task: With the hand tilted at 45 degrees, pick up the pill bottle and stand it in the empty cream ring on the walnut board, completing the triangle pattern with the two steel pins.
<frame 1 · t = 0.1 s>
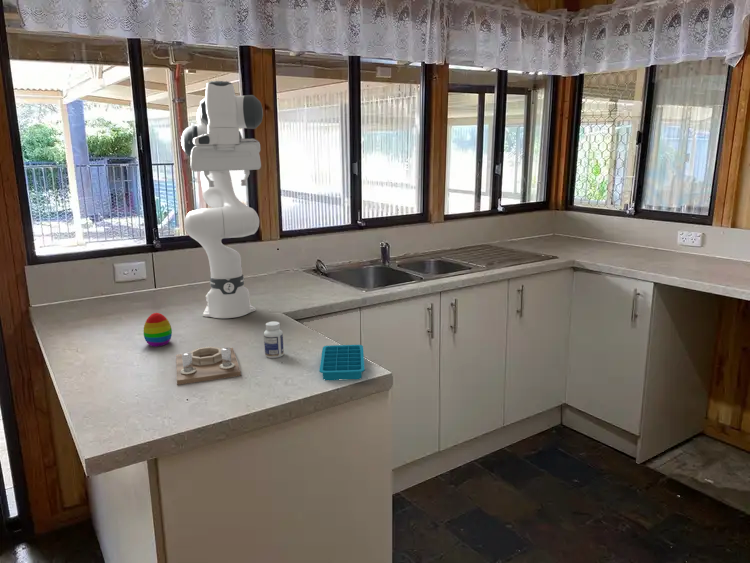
hand: (227, 186, 167), 48 cm above the worktop, tool pointing down, fingers open, 8 cm apart
pill bottle: (274, 355, 163), on the worktop
layout board: (207, 366, 155), on the worktop
decorative egg: (159, 344, 174), on the worktop
ice cube tray: (342, 368, 153), on the worktop
steel pins: (207, 360, 149), point 4 cm above the worktop
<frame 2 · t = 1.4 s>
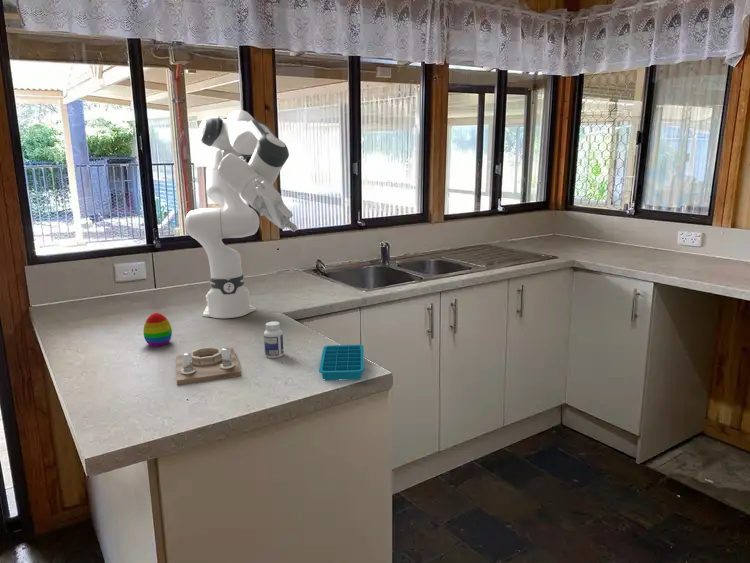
hand: (293, 223, 162), 37 cm above the worktop, tool tilted 55°, fingers open, 8 cm apart
nothing on the worktop moved.
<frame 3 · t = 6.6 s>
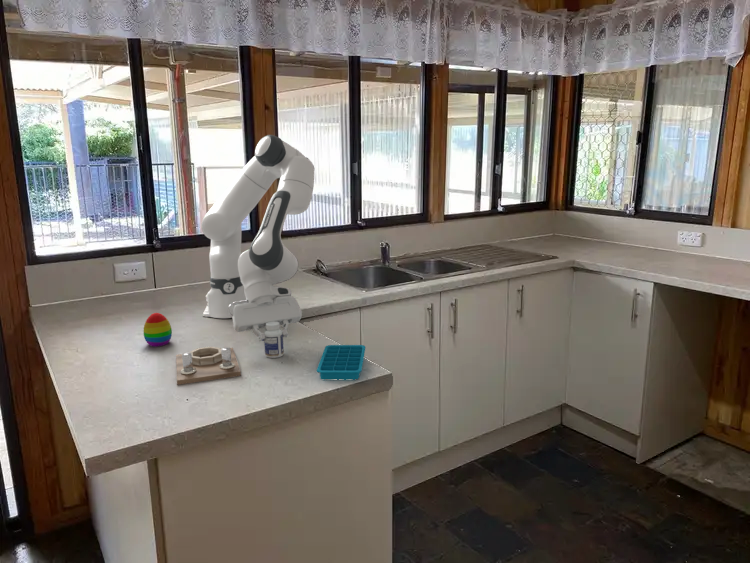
hand: (274, 338, 161), 5 cm above the worktop, tool tilted 45°, fingers closed on pill bottle, 5 cm apart
pill bottle: (274, 355, 163), on the worktop, touching gripper
everything else where it was.
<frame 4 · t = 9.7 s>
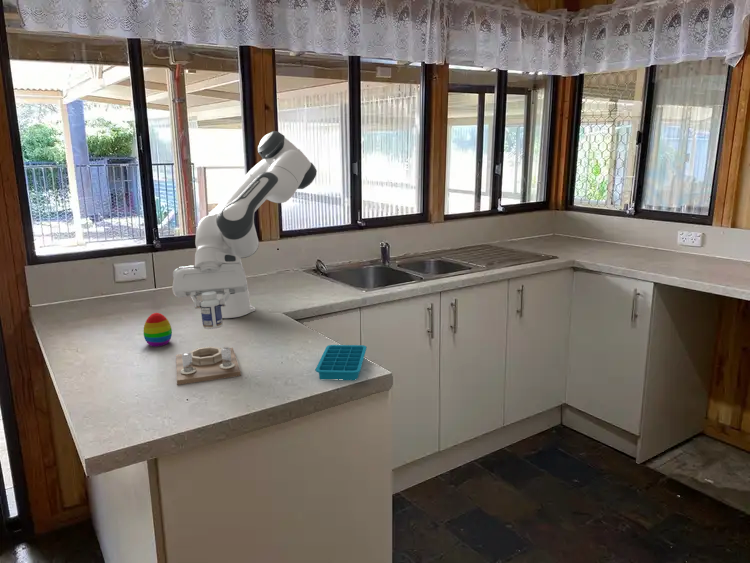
hand: (210, 306, 153), 17 cm above the worktop, tool tilted 45°, fingers closed on pill bottle, 5 cm apart
pill bottle: (213, 327, 155), point 10 cm above the worktop, touching gripper
everything else where it was.
when the fingers open (8 cm above the worktop, at t = 12.7 s): pill bottle stays where it is, resting on layout board.
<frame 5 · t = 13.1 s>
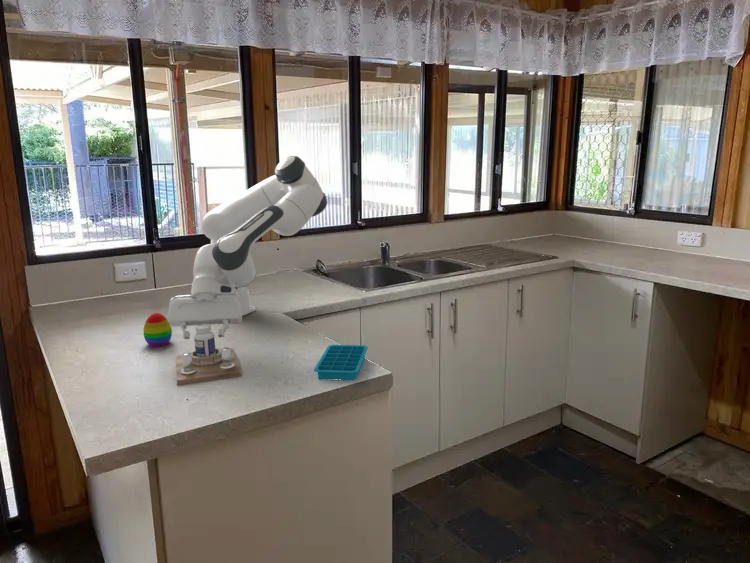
hand: (203, 337, 155), 8 cm above the worktop, tool tilted 45°, fingers open, 8 cm apart
pill bottle: (206, 359, 157), point 1 cm above the worktop, touching layout board
everything else where it was.
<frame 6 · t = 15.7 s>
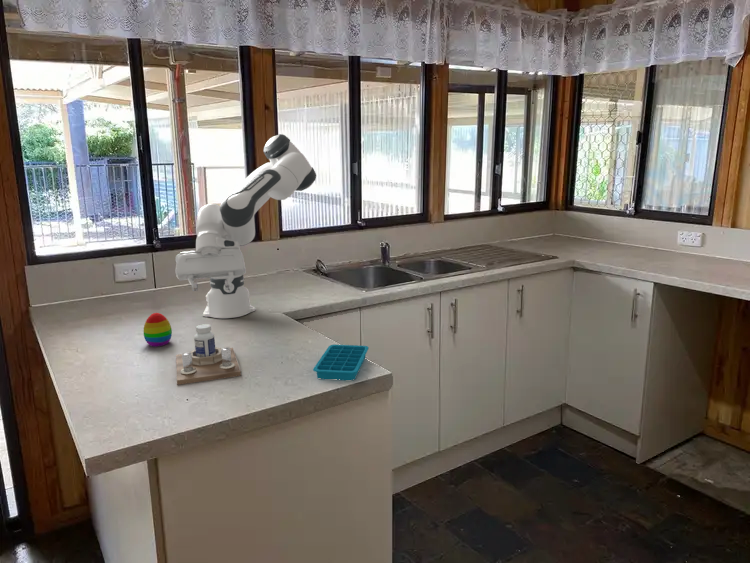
hand: (211, 288, 163), 19 cm above the worktop, tool tilted 45°, fingers open, 8 cm apart
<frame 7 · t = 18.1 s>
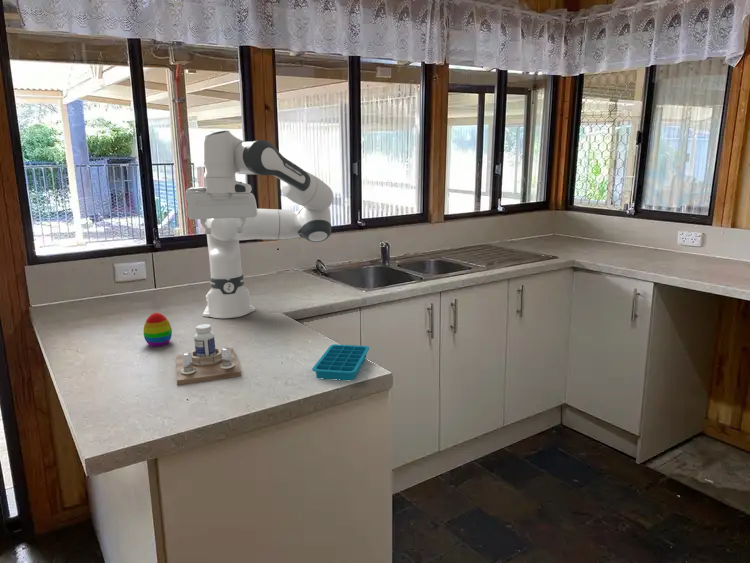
hand: (224, 233, 168), 34 cm above the worktop, tool pointing down, fingers open, 8 cm apart
at the end: pill bottle 0.1 cm from the target spot on the layout board, point 1.0 cm above the layout board's base; pill bottle tilted 0°; the gripper is holding nothing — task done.
